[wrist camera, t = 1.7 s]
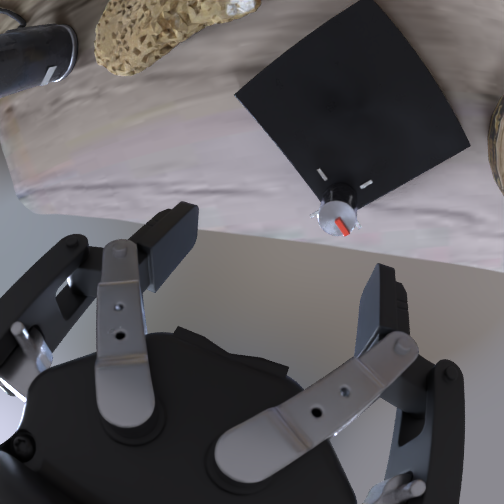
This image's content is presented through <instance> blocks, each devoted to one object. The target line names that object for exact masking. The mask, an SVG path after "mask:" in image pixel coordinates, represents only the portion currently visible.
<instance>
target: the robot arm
mask: <svg viewBox="0 0 504 504" xmlns="http://www.w3.org/2000/svg"><path fill="white" fill-rule="evenodd" d="M0 13H3V14H7V15H9V16H10V17H12V18H14V19H15V20H16V21H18V22H19V23H20V26H19V27H18V28H17V29H12V30H8V31H6V32H5V34H0V98H2V97H5V96H8V95H11V94H14V93H17V92H20V91H23V90H26V89H29V88H32V87H36V86H39V85H40V86H43V85H47V84H48V83H50V82H56V81H60V80H63V79H64V78H66V77H67V76H68V75H69V74H70V72H71V71H72V69H73V67H74V64H75V62H76V58H77V51H78V43H77V37H76V34H75V32H74V30H73V29H72V28H71V27H70V26H68V25H57V24H46V25H38V26H30V27H25V26H26V22H25V21H24V19H22V18H21V17H20V16H19V15H17V14H15V13H14V12H12V11H10V10H7V9H2V8H0ZM198 215H199V208H198V206H197V205H194V204H190V203H187V202H183V201H181V202H180V203H179V204H177V205H176V206H175V207H174V208H173V209H166V210H164V211H161V212H159V213H158V214H156V215H155V216H154V217H153V218H152V220H149V221H148V222H147V223H146V225H144V226H143V227H142V228H140V229H139V230H138V231H137V232H136V233H135V234H134V235H132V236H131V237H130V238H129V239H128V240H126V239H119V240H114V241H112V242H110V243H108V244H107V245H106V246H105V247H104V248H101V247H92V246H89V244H88V239H87V238H86V237H85V236H84V235H81V234H72V235H68V236H66V237H64V238H63V239H61V240H60V241H59V242H58V243H57V244H56V245H55V246H53V247H52V248H51V249H50V250H49V251H48V252H47V253H46V254H45V255H44V256H43V257H41V258H40V259H39V260H38V261H37V262H36V263H35V264H34V265H33V266H32V267H31V268H30V269H29V270H28V271H27V272H26V273H25V274H24V275H23V276H22V277H21V278H20V279H19V280H18V281H17V282H16V283H15V284H14V285H13V286H12V287H11V288H10V289H9V290H8V291H7V292H6V293H5V294H4V295H3V296H2V297H1V298H0V387H1V388H2V389H3V390H4V391H5V392H6V393H7V394H8V395H10V396H18V397H19V398H21V399H22V400H23V401H25V406H24V411H23V415H22V418H21V422H20V424H19V427H18V429H17V431H16V432H15V434H13V436H11V437H10V438H9V439H8V440H7V441H5V442H4V443H2V444H1V445H0V504H357V500H356V496H355V493H354V491H353V489H352V487H351V485H350V483H349V481H348V479H347V476H346V474H345V472H344V470H343V468H342V466H341V464H340V461H339V459H338V457H337V455H336V453H335V451H334V448H333V446H332V444H331V442H330V439H332V438H333V437H334V436H335V435H337V434H338V433H339V432H340V431H342V430H343V429H344V428H345V427H346V426H348V425H349V424H350V423H351V422H352V421H354V420H355V419H356V418H357V417H358V416H359V415H361V414H362V413H363V412H364V411H365V410H366V409H367V408H369V407H370V406H371V405H372V404H373V403H374V402H375V401H376V400H378V399H379V398H382V399H384V400H385V401H387V402H389V403H390V404H392V405H394V406H396V407H397V411H396V419H395V426H394V432H393V438H392V444H391V450H390V455H389V460H388V465H387V470H386V474H385V479H384V481H383V482H380V483H378V484H376V485H375V486H373V487H372V488H371V490H370V491H369V493H368V495H367V497H366V499H365V501H364V502H363V503H362V504H459V497H460V491H461V481H462V472H463V460H464V441H465V440H464V439H465V399H464V379H463V374H462V372H461V370H460V368H459V367H458V366H457V365H456V364H455V363H454V362H452V361H450V360H446V359H444V360H440V361H439V362H438V363H437V364H436V365H435V364H433V363H431V362H430V361H428V360H426V359H425V358H423V357H422V356H420V355H419V354H418V353H419V350H418V346H417V344H416V342H415V340H414V339H413V338H412V337H411V336H410V328H409V314H408V304H407V293H406V291H405V289H404V287H403V285H402V283H399V282H396V280H395V270H394V268H392V267H389V266H385V265H383V264H380V263H378V264H377V265H376V266H375V268H374V271H373V273H372V275H371V277H370V279H369V281H368V283H367V285H366V286H365V288H364V291H363V293H362V297H361V300H360V306H359V318H358V328H357V338H356V346H355V354H354V357H352V358H350V359H349V360H348V361H346V362H345V363H343V364H342V365H341V366H339V367H338V368H336V369H335V370H333V371H332V372H330V373H329V374H328V375H326V376H325V377H323V378H322V379H320V380H319V381H317V382H316V383H314V384H312V385H311V386H309V387H308V388H306V389H305V390H304V389H303V388H302V387H301V386H300V385H299V384H298V383H297V382H296V381H294V380H293V379H292V378H290V377H289V376H287V372H288V369H289V367H288V366H284V365H281V364H278V363H275V362H272V361H269V360H266V359H264V358H260V357H252V356H245V355H237V354H231V353H228V352H226V351H225V350H223V349H222V348H220V347H219V346H217V345H216V344H214V343H213V342H211V341H210V340H208V339H207V338H205V337H204V336H201V335H199V334H196V333H194V332H192V331H189V330H187V329H184V328H182V327H179V326H178V327H177V329H176V330H175V331H174V333H166V332H157V333H150V334H147V328H146V320H145V312H144V303H143V295H142V294H143V292H144V291H145V290H146V289H147V290H149V291H152V292H154V293H156V291H157V290H158V289H159V288H160V286H161V285H162V284H163V283H164V282H165V280H166V279H167V278H168V277H169V275H170V274H171V273H172V272H173V271H174V269H175V268H176V267H177V266H178V264H179V263H180V262H181V261H182V259H184V257H185V256H186V255H187V254H188V252H189V251H190V250H191V249H192V248H193V246H194V244H195V242H196V239H197V231H198ZM66 279H67V281H68V284H67V285H66V286H65V287H64V288H63V290H62V291H61V292H60V293H59V294H58V295H57V296H56V292H57V289H58V288H59V287H60V286H61V285H62V283H63V282H64V281H65V280H66ZM95 298H97V310H96V349H97V352H95V353H92V354H89V355H86V356H83V357H80V358H77V359H74V360H71V361H68V362H66V363H63V364H60V365H56V366H53V367H50V366H51V364H52V359H53V357H52V353H53V351H54V350H55V349H56V348H57V346H58V345H59V343H60V342H61V341H62V339H63V338H64V337H65V336H66V334H67V333H68V332H69V331H70V329H71V328H72V327H73V325H74V324H75V323H76V322H77V320H78V319H79V318H80V317H81V315H82V314H83V313H84V312H85V310H86V309H87V308H88V306H89V305H90V304H91V303H92V302H93V301H94V299H95Z"/></svg>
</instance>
